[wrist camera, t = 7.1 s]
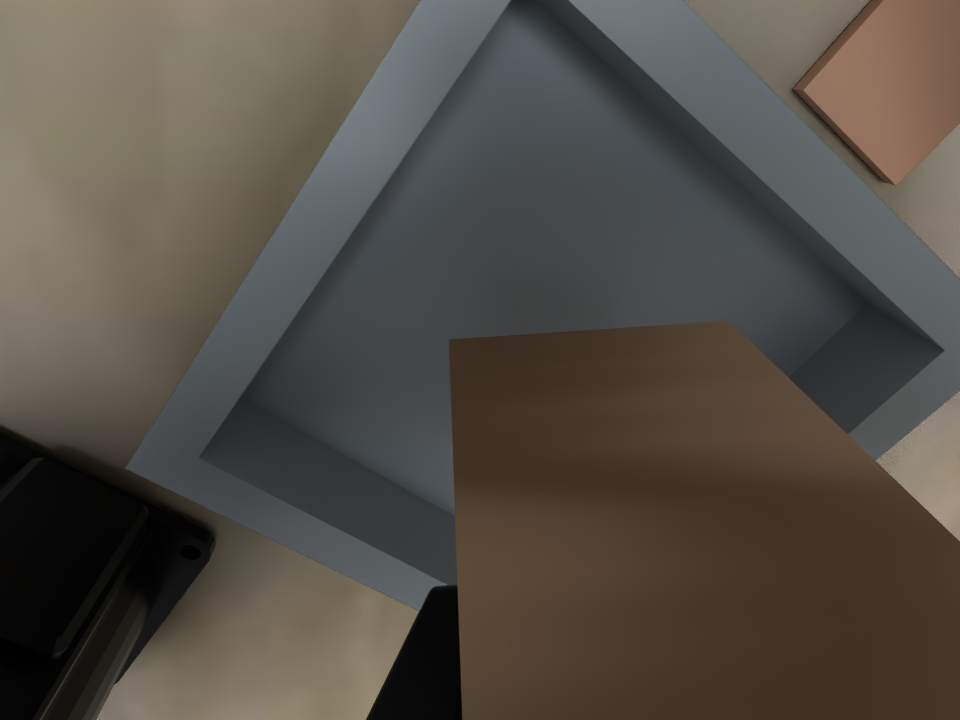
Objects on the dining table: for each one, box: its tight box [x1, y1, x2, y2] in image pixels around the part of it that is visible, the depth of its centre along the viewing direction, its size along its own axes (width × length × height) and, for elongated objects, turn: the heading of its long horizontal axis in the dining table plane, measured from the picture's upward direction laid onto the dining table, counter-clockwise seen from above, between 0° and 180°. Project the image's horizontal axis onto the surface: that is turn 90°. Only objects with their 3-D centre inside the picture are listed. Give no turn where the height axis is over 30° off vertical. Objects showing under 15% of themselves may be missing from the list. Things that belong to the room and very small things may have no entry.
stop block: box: [449, 321, 960, 720], centre depth 7 cm, size 4×5×8 cm
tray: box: [125, 0, 960, 611], centre depth 13 cm, size 12×12×3 cm
